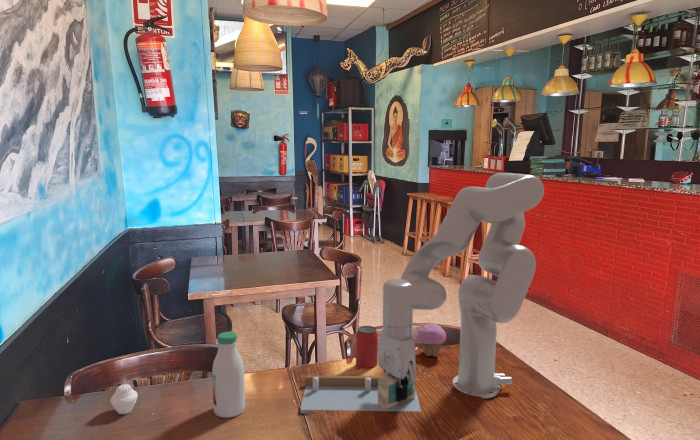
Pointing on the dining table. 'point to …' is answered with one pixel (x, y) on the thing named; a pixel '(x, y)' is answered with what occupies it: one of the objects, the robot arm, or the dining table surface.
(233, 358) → the milk bottle
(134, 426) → the dining table surface
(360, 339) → the beer can
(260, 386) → the dining table surface
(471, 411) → the dining table surface
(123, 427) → the dining table surface
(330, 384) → the ledge
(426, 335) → the cupcake
